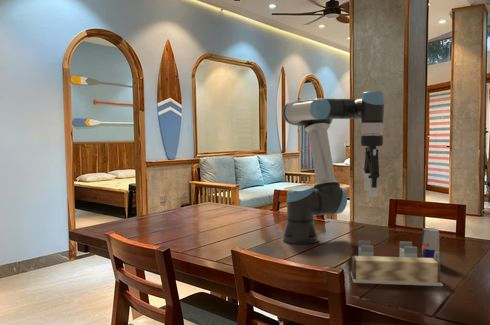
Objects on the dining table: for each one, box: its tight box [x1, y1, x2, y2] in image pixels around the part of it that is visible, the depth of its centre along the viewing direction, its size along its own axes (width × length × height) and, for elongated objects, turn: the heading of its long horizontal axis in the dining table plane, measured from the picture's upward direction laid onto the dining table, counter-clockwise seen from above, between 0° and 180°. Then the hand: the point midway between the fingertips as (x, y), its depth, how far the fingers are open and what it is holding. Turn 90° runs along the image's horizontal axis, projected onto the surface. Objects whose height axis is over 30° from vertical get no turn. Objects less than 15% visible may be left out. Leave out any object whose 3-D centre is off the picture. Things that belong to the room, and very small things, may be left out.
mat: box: [350, 271, 444, 287], centre depth 127 cm, size 26×9×1 cm, turn 81°
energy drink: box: [421, 227, 440, 262], centre depth 143 cm, size 5×5×12 cm
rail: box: [351, 255, 441, 282], centre depth 127 cm, size 26×5×6 cm, turn 81°
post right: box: [399, 241, 418, 258], centre depth 138 cm, size 4×7×8 cm, turn 171°
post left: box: [357, 240, 375, 256], centre depth 140 cm, size 4×7×8 cm, turn 171°
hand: (370, 193), depth 147 cm, fingers open, 13 cm apart
